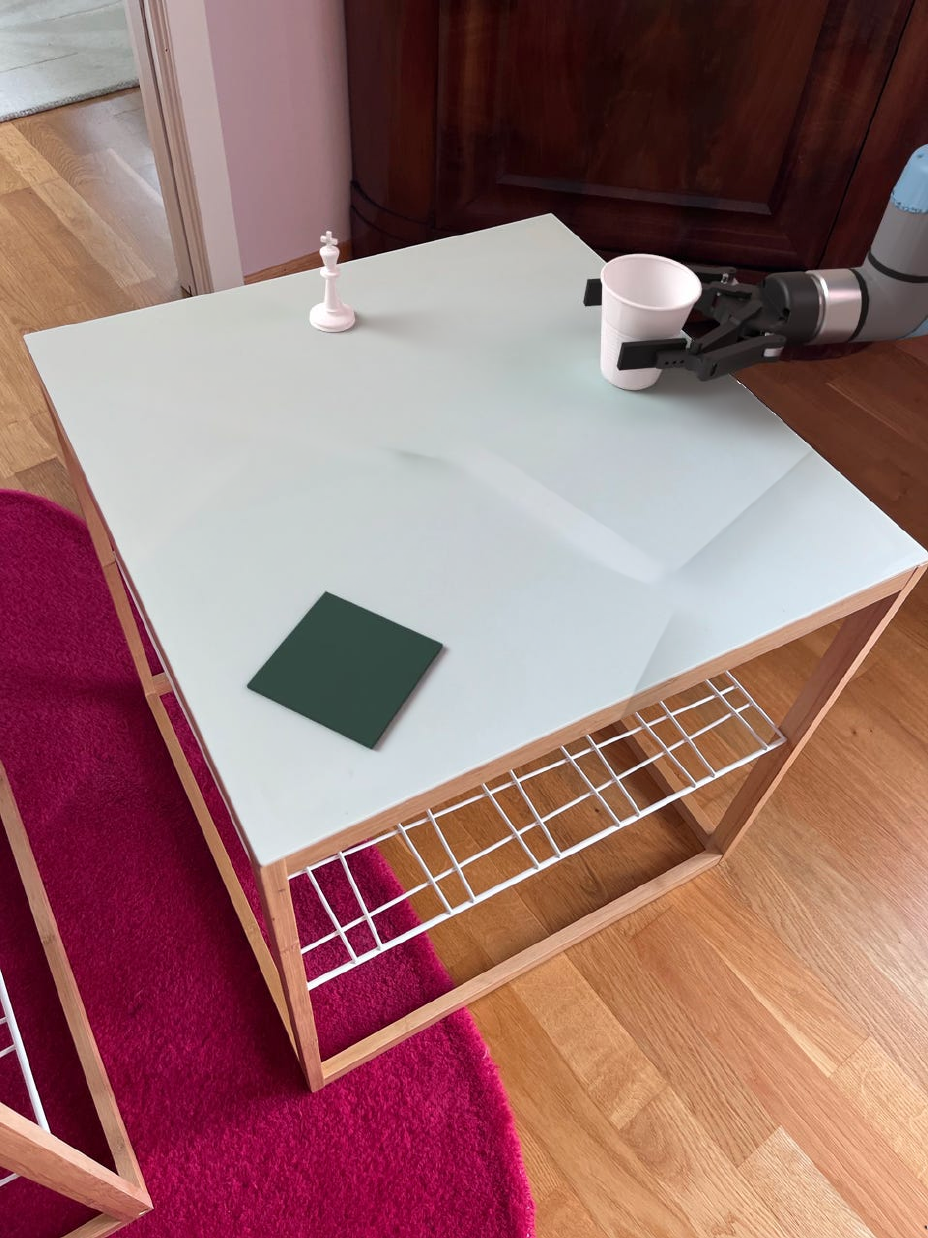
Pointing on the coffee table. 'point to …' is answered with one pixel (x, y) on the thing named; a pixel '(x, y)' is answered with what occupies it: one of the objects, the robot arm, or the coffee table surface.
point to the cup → (642, 310)
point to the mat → (346, 668)
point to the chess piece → (331, 293)
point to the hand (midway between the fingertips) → (602, 323)
